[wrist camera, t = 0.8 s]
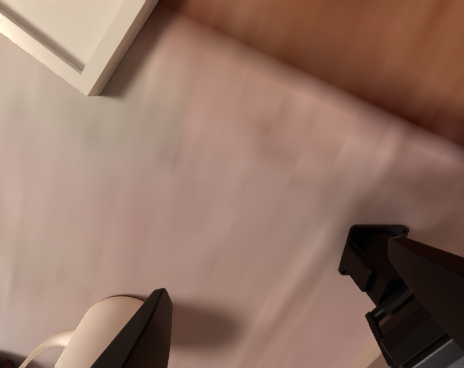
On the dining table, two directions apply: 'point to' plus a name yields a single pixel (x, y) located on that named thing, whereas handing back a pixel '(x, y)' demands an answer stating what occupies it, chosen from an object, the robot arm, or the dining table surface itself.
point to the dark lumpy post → (8, 364)
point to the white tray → (76, 35)
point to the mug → (91, 333)
